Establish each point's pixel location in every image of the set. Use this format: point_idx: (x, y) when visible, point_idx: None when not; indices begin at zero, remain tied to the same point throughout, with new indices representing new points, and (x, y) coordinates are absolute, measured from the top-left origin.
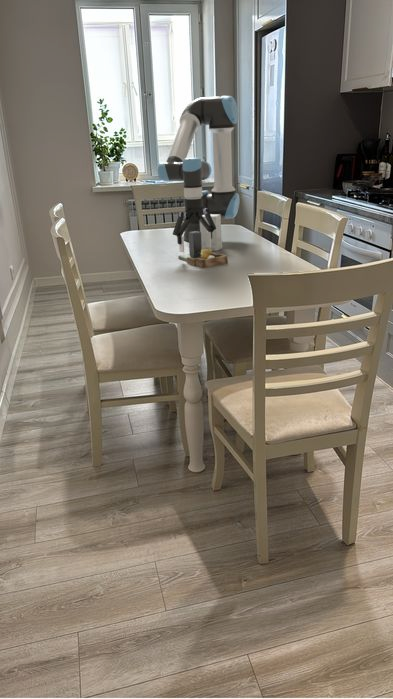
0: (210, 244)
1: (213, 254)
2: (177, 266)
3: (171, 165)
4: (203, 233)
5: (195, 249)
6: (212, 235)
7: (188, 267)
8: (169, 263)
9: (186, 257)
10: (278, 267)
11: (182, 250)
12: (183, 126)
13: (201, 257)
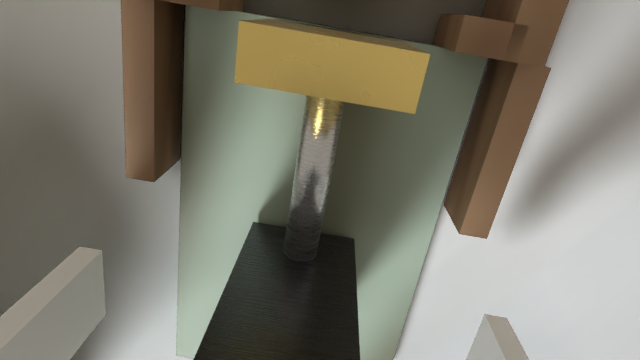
0: (64, 271)
1: (158, 119)
2: (637, 180)
3: None
4: None
5: (329, 286)
6: None
7: (627, 50)
8: (565, 314)
9: (389, 299)
10: None
11: (513, 340)
12: None
13: (467, 24)
